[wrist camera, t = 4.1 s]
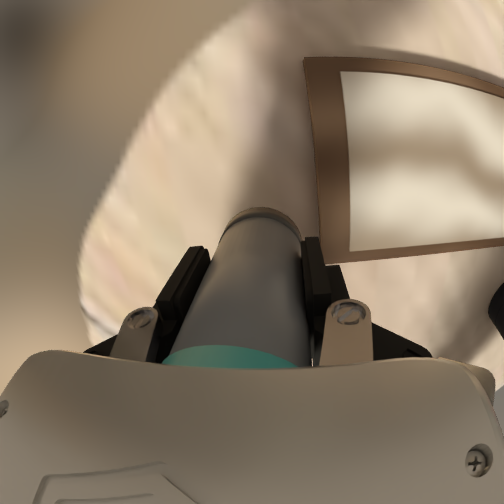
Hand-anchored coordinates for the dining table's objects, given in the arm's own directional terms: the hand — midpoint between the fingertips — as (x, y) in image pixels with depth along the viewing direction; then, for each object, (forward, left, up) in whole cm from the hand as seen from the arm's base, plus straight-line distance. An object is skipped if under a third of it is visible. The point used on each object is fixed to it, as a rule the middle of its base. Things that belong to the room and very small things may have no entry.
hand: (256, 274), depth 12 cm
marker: (0, 0, -3) cm, 3 cm away
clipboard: (+3, -16, -8) cm, 18 cm away
